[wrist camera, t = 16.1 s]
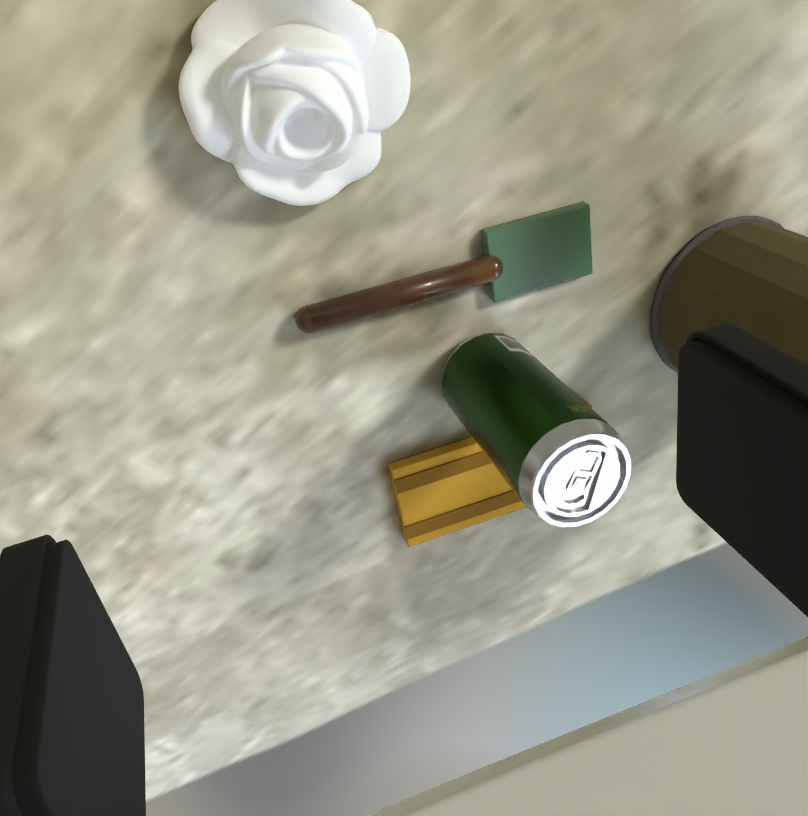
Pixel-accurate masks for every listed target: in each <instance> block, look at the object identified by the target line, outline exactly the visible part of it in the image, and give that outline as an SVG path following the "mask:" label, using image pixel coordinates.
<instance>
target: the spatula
mask: <svg viewBox="0 0 808 816" xmlns="http://www.w3.org/2000/svg"><path fill="white" fill-rule="evenodd" d="M482 238H483V246H484V255H485V256H483V257H480V258H476V259H473V260H469V261H465V262H462V263H458V264H455V265H451V266H448V267H444V268H440V269H437V270H433V271H430V272H426V273H422V274H419V275H415V276H412V277H408V278H405V279H401V280H397V281H394V282H390V283H387V284H383V285H379V286H376V287H372V288H369V289H365V290H361V291H358V292H354V293H351V294H347V295H344V296H340V297H336V298H333V299H329V300H326V301H322V302H318V303H315V304H311V305H308V306H304V307H302V308H301V309H300V310H299V311H298V312H297V314H296V318H295V321H296V325H297V327H298V328H299V329H300V330H301V331H303V332H305V333H314V332H318V331H321V330H325V329H328V328H332V327H335V326H339V325H342V324H346V323H349V322H353V321H356V320H360V319H363V318H367V317H370V316H374V315H377V314H381V313H384V312H388V311H391V310H395V309H398V308H402V307H405V306H409V305H412V304H416V303H419V302H423V301H426V300H430V299H433V298H437V297H440V296H444V295H447V294H451V293H454V292H458V291H461V290H465V289H468V288H472V287H475V286H479V285H482V284H486V283H488V288H489V297H490V299H491V300H493V301H494V302H496V301H500V300H503V299H507V298H510V297H513V296H517V295H520V294H524V293H527V292H531V291H534V290H538V289H541V288H544V287H548V286H551V285H555V284H558V283H562V282H565V281H569V280H572V279H575V278H579V277H582V276H586V275H589V274H592V254H591V231H590V208H589V204H587V203H585V202H580V203H576V204H573V205H569V206H565V207H562V208H558V209H554V210H551V211H547V212H543V213H540V214H536V215H532V216H529V217H525V218H521V219H518V220H514V221H510V222H507V223H503V224H499V225H496V226H492V227H488V228H484V229H482Z"/></svg>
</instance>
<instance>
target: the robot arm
mask: <svg viewBox="0 0 808 816" xmlns="http://www.w3.org/2000/svg"><path fill="white" fill-rule="evenodd" d="M676 483H677V489H678V492H679V494H680V496H681V498H682V500H683V501H684V502H685V503H686V505H687V506H688V507H690V508H691V509H692V510H693V511H694V512H695V513H696V514H697V515H698V516H699V517H700V518H701V519H702V520H704V521H705V522H706V523H707V524H708V525H709V526H710V527H711V528H712V529H713V530H714V531H715V532H717V533H718V534H719V535H720V536H721V537H722V538H723V539H724V540H725V541H726V542H727V543H728V544H729V545H731V546H732V547H733V548H734V549H735V550H736V551H737V552H738V553H739V554H740V555H741V556H742V557H744V558H745V559H746V560H747V561H748V562H749V563H750V564H751V565H752V566H753V567H754V568H755V569H756V570H758V571H759V572H760V573H761V574H762V575H763V576H764V577H765V578H766V579H767V580H768V581H769V582H770V583H772V584H773V585H774V586H775V587H776V588H777V589H778V590H779V591H780V592H781V593H782V594H783V595H785V596H786V597H787V598H788V599H789V600H790V601H791V602H792V603H793V604H794V605H795V606H797V607H798V608H799V609H800V610H801V611H802V612H803V613H804V614H805V615H806V616H807V617H808V365H806V364H804V363H802V362H800V361H799V360H797V359H795V358H793V357H791V356H789V355H788V354H786V353H784V352H782V351H780V350H779V349H777V348H775V347H773V346H771V345H770V344H768V343H766V342H764V341H762V340H761V339H759V338H757V337H755V336H753V335H752V334H750V333H748V332H746V331H744V330H743V329H741V328H739V327H737V326H735V325H734V324H731V323H728V322H725V323H720V324H717V325H714V326H711V327H708V328H704V329H701V330H698V331H695V332H692V333H691V334H690V335H689V336H688V338H687V340H686V344H684V345H683V346H682V347H681V348H680V350H679V364H678V416H677V468H676ZM0 816H146V801H145V745H144V697H143V689H142V684H141V681H140V678H139V675H138V672H137V670H136V668H135V666H134V664H133V662H132V660H131V658H130V656H129V654H128V652H127V651H126V649H125V647H124V645H123V643H122V641H121V639H120V637H119V635H118V633H117V631H116V629H115V627H114V625H113V623H112V621H111V619H110V617H109V616H108V614H107V612H106V610H105V608H104V606H103V604H102V602H101V600H100V598H99V596H98V594H97V592H96V590H95V588H94V586H93V584H92V582H91V581H90V579H89V577H88V575H87V573H86V571H85V569H84V567H83V565H82V563H81V561H80V559H79V557H78V555H77V553H76V551H75V549H74V548H73V546H72V544H71V543H70V542H69V541H68V540H64V541H61V542H57V543H56V542H55V540H54V539H53V538H52V537H51V536H50V535H44V536H41V537H38V538H34V539H31V540H28V541H25V542H22V543H19V544H15V545H12V546H9V547H6V548H4V549H3V550H2V553H1V555H0ZM366 816H808V637H806V638H804V639H801V640H799V641H796V642H794V643H791V644H789V645H786V646H784V647H781V648H779V649H776V650H774V651H771V652H769V653H766V654H764V655H761V656H759V657H756V658H753V659H751V660H748V661H746V662H743V663H741V664H739V665H736V666H734V667H731V668H728V669H726V670H724V671H721V672H718V673H716V674H713V675H711V676H708V677H706V678H703V679H701V680H698V681H696V682H693V683H691V684H688V685H686V686H683V687H681V688H678V689H676V690H673V691H671V692H669V693H666V694H664V695H661V696H659V697H656V698H654V699H651V700H649V701H646V702H644V703H641V704H639V705H636V706H634V707H631V708H629V709H626V710H624V711H621V712H619V713H617V714H614V715H611V716H609V717H606V718H604V719H602V720H599V721H597V722H594V723H592V724H589V725H587V726H584V727H582V728H579V729H577V730H574V731H572V732H570V733H567V734H565V735H562V736H560V737H557V738H555V739H552V740H550V741H547V742H545V743H542V744H540V745H537V746H535V747H532V748H530V749H528V750H525V751H523V752H520V753H518V754H515V755H513V756H510V757H508V758H505V759H503V760H500V761H498V762H495V763H493V764H491V765H488V766H486V767H483V768H481V769H478V770H476V771H474V772H471V773H469V774H466V775H464V776H462V777H459V778H457V779H454V780H452V781H449V782H447V783H444V784H442V785H440V786H437V787H435V788H432V789H430V790H427V791H425V792H422V793H420V794H418V795H415V796H413V797H410V798H408V799H405V800H403V801H400V802H398V803H396V804H393V805H391V806H388V807H386V808H383V809H381V810H379V811H376V812H374V813H371V814H369V815H366Z"/></svg>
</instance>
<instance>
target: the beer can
mask: <svg viewBox="0 0 808 816" xmlns="http://www.w3.org/2000/svg"><path fill="white" fill-rule="evenodd" d="M442 390H443V396H444V398H445V400H446V402H447V403H448V405H449V407H450V408H451V409H452V411H453V412H454V413H455V415H456V416H457V417H458V419H459V420H460V421H461V423H462V424H463V425H464V426H465V428H466V429H467V430H468V432H469V433H470V434H471V436H472V437H473V438H474V440H475V441H476V442H477V443H478V445H479V446H480V447H481V449H482V450H483V451H484V453H485V454H486V455H487V456H488V458H489V459H490V460H491V462H492V463H493V464H494V466H495V467H496V468H497V470H498V471H499V472H500V473H501V475H502V476H503V477H504V479H505V480H506V481H507V483H508V484H509V485H510V486H511V488H512V489H513V490H514V492H515V493H516V494H517V496H518V497H519V498H520V500H521V501H522V502H523V503H524V505H525V506H526V507H527V508H528V509H530V510H531V511H532V512H533V513H535V514H536V515H539V516H540V517H542V518H543V519H544V520H545V521H547V522H548V523H549V524H552V525H556V526H560V527H575V526H579V525H582V524H585V523H588V522H591V521H593V520H595V519H596V518H598V517H600V516H601V515H603V514H604V513H606V512H607V511H608V510H609V509H610V508H611V507H612V506H613V505H614V504H615V503H616V502H617V501H618V500H619V498H620V497H621V495H622V493H623V492H624V490H625V489H626V487H627V484H628V481H629V478H630V475H631V458H630V456H629V453H628V451H627V448H626V447H625V446H624V445H623V444H622V441H621V439H620V436H619V434H618V433H617V432H616V431H615V430H614V429H613V428H612V427H611V426H610V425H609V424H608V423H607V422H606V421H605V420H603V419H602V418H601V417H600V416H599V415H598V414H597V413H596V412H595V411H594V410H592V409H591V408H590V407H589V406H588V405H587V404H586V403H585V402H584V401H583V400H581V399H580V398H579V397H578V396H577V395H576V394H575V393H574V392H573V391H571V390H570V389H569V388H568V387H567V386H566V385H565V384H564V383H563V382H562V381H560V380H559V379H558V378H557V377H556V376H555V375H554V374H553V373H552V372H551V371H549V370H548V369H547V368H546V367H545V366H544V365H543V364H542V363H541V362H539V361H538V360H537V359H536V358H535V357H534V356H533V355H532V354H531V353H530V352H528V351H527V350H526V349H525V348H524V347H523V346H522V345H521V344H520V343H519V342H517V341H516V340H515V339H514V338H512V337H509V336H507V335H504V334H497V333H483V334H479V335H476V336H472V337H470V338H468V339H466V340H465V341H463V342H462V343H460V344H459V345H458V346H457V347H456V348H455V349H454V350H453V351H452V352H451V353H450V355H449V357H448V359H447V361H446V363H445V365H444V370H443V375H442Z"/></svg>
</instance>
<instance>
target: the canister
mask: <svg viewBox="0 0 808 816" xmlns="http://www.w3.org/2000/svg"><path fill="white" fill-rule="evenodd" d="M725 322H728V323H731V324H734V325H735V326H737V327H739V328H741V329H743V330H744V331H746V332H748V333H750V334H752V335H753V336H755V337H757V338H759V339H761V340H762V341H764V342H766V343H768V344H770V345H771V346H773V347H775V348H777V349H779V350H780V351H782V352H784V353H786V354H788V355H789V356H791V357H793V358H795V359H797V360H799V361H800V362H802V363H804V364H806V365H808V237H806V236H803V235H800V234H798V233H795V232H792V231H789V230H787V229H784V228H783V227H782V226H781V225H780V224H778V223H776V222H774V221H772V220H770V219H766V218H762V217H758V216H742V217H737V218H732V219H727V220H724V221H722V222H720V223H718V224H716V225H713V226H711V227H709V228H708V229H707V230H705V231H704V232H702V233H701V234H700V235H698V236H697V237H696V238H695V239H693V240H692V241H691V242H690V243H689V244H688V245H687V246H686V247H685V248H684V249H683V250H682V252H681V253H680V254H679V255H678V256H677V257H676V258H675V260H674V261H673V262H672V264H671V265H670V267H669V268H668V270H667V271H666V273H665V274H664V276H663V279H662V281H661V283H660V285H659V288H658V290H657V293H656V297H655V301H654V305H653V309H652V324H651V326H652V334H653V340H654V343H655V346H656V349H657V351H658V352H659V354H660V355H661V357H662V358H663V360H664V362H665V363H666V364H667V365H668V366H669V367H670V368H672V369H673V370H675V371H676V372H678V364H679V350H680V348H681V347H682V346H683V345H684V344H686V340H687V338H688V336H689V335H690V334H691V333H692V332H695V331H698V330H701V329H704V328H708V327H711V326H714V325H717V324H720V323H725Z"/></svg>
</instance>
